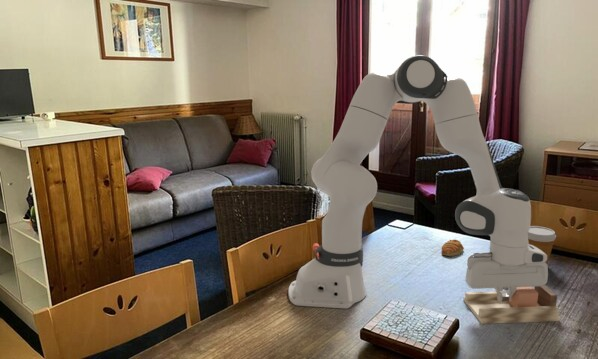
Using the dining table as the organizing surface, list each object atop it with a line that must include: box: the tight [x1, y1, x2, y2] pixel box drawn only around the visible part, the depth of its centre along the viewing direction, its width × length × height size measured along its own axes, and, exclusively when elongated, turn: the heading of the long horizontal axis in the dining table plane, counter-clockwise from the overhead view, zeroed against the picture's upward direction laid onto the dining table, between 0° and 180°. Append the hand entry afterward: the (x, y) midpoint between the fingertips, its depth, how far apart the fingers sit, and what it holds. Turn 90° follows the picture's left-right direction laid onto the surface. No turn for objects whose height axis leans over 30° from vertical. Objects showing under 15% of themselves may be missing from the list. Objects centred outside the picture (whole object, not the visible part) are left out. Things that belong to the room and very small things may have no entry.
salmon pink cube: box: [509, 287, 538, 307], centre depth 120 cm, size 5×5×5 cm
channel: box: [463, 284, 561, 325], centre depth 120 cm, size 20×12×6 cm, turn 92°
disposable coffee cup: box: [528, 225, 557, 265], centre depth 147 cm, size 10×10×12 cm
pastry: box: [441, 239, 465, 257], centre depth 160 cm, size 9×7×4 cm
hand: (503, 301), depth 120 cm, fingers closed
